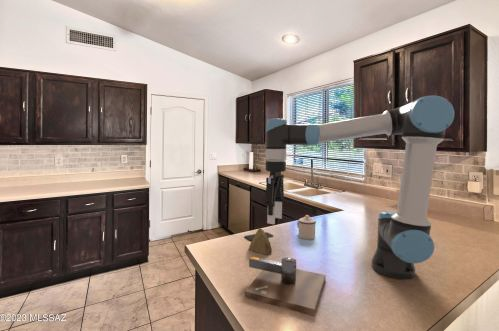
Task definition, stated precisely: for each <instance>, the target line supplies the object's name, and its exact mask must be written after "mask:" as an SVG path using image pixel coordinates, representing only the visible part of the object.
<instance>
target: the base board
mask: <svg viewBox="0 0 499 331" xmlns="http://www.w3.org/2000/svg"><path fill="white" fill-rule="evenodd" d="M325 283H326V274H323V273H318V272H312V271H308V270H303V269H297V268H296V282H295V283H293V284H286V283H284V282H282V281H281V274H279V273H274V272H270V271H265V270H261V272H260V273H258V275H257V276H256V277H255V278H254V279H253V281H251V283H250V284H249V285H248V287H247V288H246V289H245V290H244V298H246V299H251V300H254V301H258V302H262V303H266V304H269V305H272V306H276V307H280V308H283V309H287V310H291V311H295V312H299V313H302V314H306V315H309V316H313V317H315V315H316V312H317V308H318V306H319V303H320V298H321V296H322V293H323V289H324V286H325Z"/></svg>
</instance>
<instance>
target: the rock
mask: <svg viewBox="0 0 499 331" xmlns="http://www.w3.org/2000/svg"><path fill="white" fill-rule="evenodd" d="M265 232H266V231H265V230H263V228H258V230H257V231H256V233H254V234H255V236H254V238H253V240H252V241H250V243H249V246H248V250H249V251H252V252H253V253H254V252H255V253H260V254H264V255H271V254H272V250H273V249H272V245H271V242H270V239H269V238H268V237H267V236H266V234H265Z"/></svg>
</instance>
